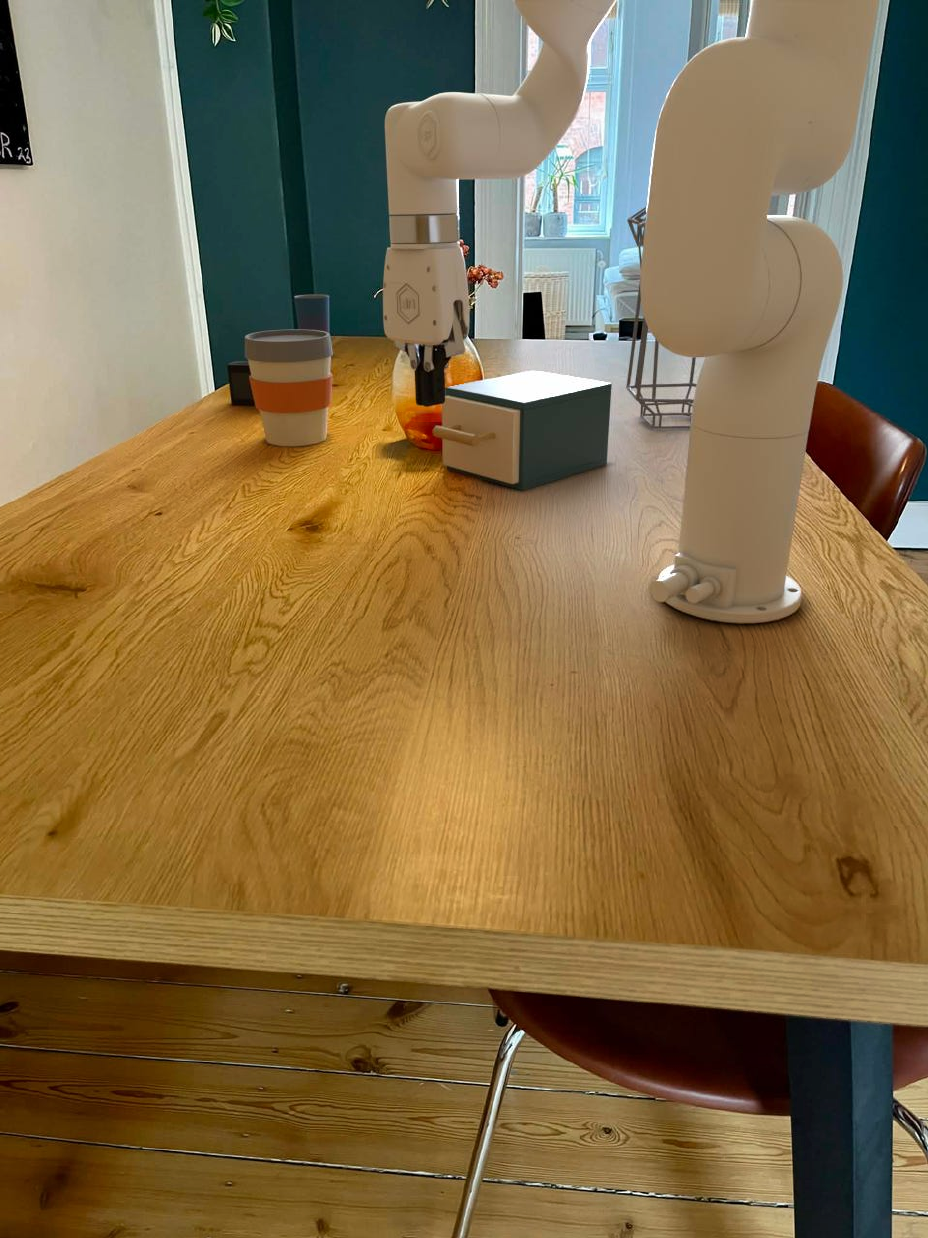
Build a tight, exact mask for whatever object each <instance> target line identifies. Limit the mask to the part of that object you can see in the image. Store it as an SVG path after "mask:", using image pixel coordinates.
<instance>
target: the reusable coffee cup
mask: <svg viewBox="0 0 928 1238" xmlns="http://www.w3.org/2000/svg"><path fill="white" fill-rule="evenodd" d="M331 339H332V338H331V334H330V332H329V333H328V332H324V331H318V330H299V328H297V329H274V330H264V331H263V330H262V331H257V332H252V333H248V334H246V335H245V336H244V358H245V359H247V361H248V362H249V367H250V371H251V376H250V377H249V380H250V384H251V388H252V393H253V397H254V401H255V408H256V409H257V410H258V411H259V415H260V418H261V422H262V423H261V424H262V429H263V432H264V437H265V441H266V443H268V444H270V445H273V446H278V447H305V446H311V445H316V444H319V443H322V442H324V441H325V440H326V439H327V435H328V434H327V432H328V416H329V415H328V414H329V407H330V406H331V404H332V394H333V392H332V390H333V377H334V376H333V375H334V374H333V372H331V358H332V356H333V355H334V351H333V345H332V340H331Z"/></svg>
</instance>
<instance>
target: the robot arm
mask: <svg viewBox="0 0 928 1238" xmlns="http://www.w3.org/2000/svg"><path fill="white" fill-rule="evenodd" d="M512 1H513V3H514V5H515V8H516V9H517V12H518V14H519V16H521V18H522V20H523V21H524V22H525V24H526V25H527V26H528V27H529V28H530V30H531V31H532V32H533V33H534V34H535V35H536V36H537V37H538V38H539V39H540V40H541V45H540V48H539V51H538V55H537V57H536V59H535V60H534V63H533V65H532V67H531V68H530V69H529V71H528V73H527V74H526V76H525V77H524V79H523V81H522V82H521V84H520V85H519V87H518V88H517V90H516V91H515V92H514V93H513V95H505V94H504V95H503V94H490V93H479V92H473V93H471V92H459V91H457V92H456V91H450V92H447V91H446V92H441V93H440V92H439V93H438V94H434V95H432V96H429V97H427V98H426V99H424V100H422V101H409V102H401V103H396V104H394V105H392V106H390V108H388V110H387V112H386V113H385V118H384V138H385V139H384V141H385V160H386V162H385V163H386V179H387V181H386V184H387V199H388V202H387V203H388V215H389V216H388V220H389V221H388V223H389V227H388V228H389V237H390V238H389V240H390V247H387V248H386V253H385V259H384V260H385V261H384V268H383V280H382V281H383V282H382V283H383V284H382V317H383V319H382V321H383V331H384V335H385V336H386V337H387V338H388V339H389V340H391V341H394V343H393V344H394V346H395V348H396V349H399V350H400V351H402V352H405V354H406V355H407V357H408V358H409V366H410V368H411V369H412V370H414V371H413V372H414V389H415V390H414V391H415V393H414V395H415V404H416V405H417V406H422V407H424V408H425V407H426V408H428V407H433V406H438V405H441V404H443V403H444V402H445V380H446V379H445V370H446V369H448V368H449V363H450V361H451V359H452V358H453V357H456V356H457V357H458V356H460V355H464V354H466V353H465V352H466V347H465V340H466V339H467V338H468V337H469V331H470V298H469V287H468V277H467V276H468V275H467V269H466V262H465V257H464V252H463V248H462V246H460V214H459V213H460V208H459V206H460V204H459V202H460V201H459V199H460V198H459V180H514V179H515V180H516V179H520V178H523V177H525V176H527V175H529V174H531V173H532V172H533V171H535V170H536V169H537V168H538V167H540V166H541V165H542V163H543V162H544V161H546V159H547V158H548V156H549V155H550V154H551V153H552V151H553V150H554V149H555V148H556V146H557V145H558V144H559V143H560V141H561V140H562V138H563V137H564V135H565V134H566V133H567V131H568V130H569V128H570V127H571V126H572V124H573V122H574V121H575V119H576V117H577V115H578V114H579V111H580V109H581V106H582V103H583V101H584V97H585V93H586V89H587V84H588V80H589V74H590V68H591V67H590V66H591V42H592V39H593V38H594V36H595V34H596V32H597V31H598V29H599V28H600V26H601V25H602V24H603V22H604V21H605V18H607V16H608V15H609V13H610V12H611V10H612V8H613V6H614V5H615V4H616V3H617V1H618V0H512ZM879 4H880V0H750V4H749V6H750V7H749V14H748V15H749V16H748V21H747V26H746V31H745V36H739V37H730V38H726V39H721V40H719V41H716V42H714V43H711V44H710V45H708V46H706V47H704V48H703V49H701V50H700V51H699V52H697V53H696V54H695V55H694V56H693V57H691V58H690V59H689V60H688V61H687V63H686V64H685V65H684V66H683V67H682V69H681V70H680V72H679V73H678V74H677V76H676V78H675V79H674V81H673V82H672V84H671V86H670V88H669V90H668V92H667V93H666V97H665V99H664V101H663V104H662V106H661V110H660V111H659V117H658V119H657V124H656V128H655V134H654V141H653V148H652V156H651V165H650V175H649V184H648V195H647V205H646V206H647V213H646V214H645V217H646V222H645V232H644V242H643V246H642V251H641V259H642V262H641V269H640V274H639V275H640V276H639V283H640V294H641V303H640V306H641V310H642V314H643V318H645V321H646V323H647V326H648V331H650V334H652V336H653V337H654V339H656V340H657V341H658V342H659V345H660V346H662V347H663V348H664V349H665V350H667V351H669V352H671V353H672V354H675V355H678V356H681V357H685V358H692V357H696V358H704V360H703V362H702V364H701V368H700V371H699V374H698V377H697V382H696V384H697V385H696V387H695V390H694V395H693V399H694V401H693V403H692V404H693V407H691V409H692V410H691V413H692V418H691V417H690V418H691V420H690V426H691V428H689V429H690V430H689V440H688V449H687V457H686V458H687V459H686V469H685V479H684V488H683V489H684V490H683V500H682V511H681V519H680V520H681V522H680V530H679V540H678V550H677V554H675V555H674V562H673V563H674V564H673V565H671V566H668V567H667V568H665V569H664V570H662V571H661V572H660V574H659V575H658V578H657V579H656V580H654V581H652V582H651V584H650V586H649V593H650V596H651V597H652V598H653V600H654V601H656V602H658V603H664V602H665V603H666V604H667V605H669V606H670V607H672V608H673V609H675V610H677V611H680V612H682V613H684V614H687V615H690V616H693V617H696V618H700V619H705V620H709V621H714V622H720V623H727V624H728V623H729V624H760V623H769V622H773V621H778V620H781V619H784V618H788V616H790V615H793V614H794V613H796V611H798V609H799V608H800V607H801V603H802V597H803V590H802V588H801V586H800V585H799V584H798V583H797V581H795V579H793V578H792V577H790V576H788V575H787V574H788V567H789V561H790V555H791V554H790V553H791V549H792V542H793V535H794V529H795V522H796V515H797V509H798V508H797V507H798V503H799V497H800V490H801V485H802V484H801V483H802V477H803V470H804V464H805V457H806V450H807V444H808V437H809V431H810V427H811V421H812V414H813V407H814V402H815V398H816V397H815V396H816V391H817V387H818V386H817V385H818V382H819V376H820V371H821V367H822V364H823V360H824V356H825V353H826V349H827V347H828V343H829V341H830V336H831V334H832V330H833V327H834V325H835V322H836V318H837V314H838V311H839V308H840V304H841V298H842V294H843V293H842V292H843V286H844V285H843V283H844V271H843V264H842V263H843V262H842V260H841V256H840V253H839V251H838V248H837V246H836V244H835V243H834V241H833V239H832V238H831V237H830V235H828V233H827V232H826V231H824V230H823V228H821V227H820V226H818V225H816V224H815V223H814V222H812V221H809V220H807V219H804V218H801V217H797V216H792V215H782V214H781V215H780V214H779V215H778V214H777V215H776V214H772V215H769V211H770V206H771V201H772V197H779V196H791V195H792V196H793V195H800V194H804V193H807V192H810V191H814V190H815V189H817V188H819V187H821V186H823V185H825V184H826V183H828V182H829V181H830V180H831V179H832V178H833V177H834V176H835V175H836V174H837V173H838V171H839V170H840V169H841V167H842V166H843V164H844V163H845V161H846V159H847V157H848V155H849V153H850V150H851V148H852V145H853V140H854V136H855V133H856V132H855V131H856V128H857V127H856V126H857V122H858V116H859V111H860V105H861V100H862V95H863V89H864V85H865V79H866V75H867V74H866V73H867V70H868V64H869V59H870V54H871V50H872V49H871V47H872V42H873V37H874V32H875V27H876V23H877V22H876V21H877V18H878V17H877V16H878V10H879Z"/></svg>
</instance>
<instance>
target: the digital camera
mask: <svg viewBox="0 0 928 1238" xmlns="http://www.w3.org/2000/svg"><path fill="white" fill-rule="evenodd" d="M226 369H227V377H228V385H229V387H228V388H229V393H230V394H229V395H230V401H231V403H230V404H231V406H251V407H252V406H255V401H254V397H253V393H252V388H251V384H250V380H249V377H250V376H251V371H250V367H249V362H248V360H234V361H232V362H230V363H228V364H226ZM255 407H256V406H255Z"/></svg>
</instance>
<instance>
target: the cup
mask: <svg viewBox="0 0 928 1238" xmlns="http://www.w3.org/2000/svg"><path fill="white" fill-rule="evenodd" d="M293 299H294V306H295V313H296V321H297V329H299V330H318V331H324V332H328V333H329V334H330V295H328V294H300V295H295V296H293Z"/></svg>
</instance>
